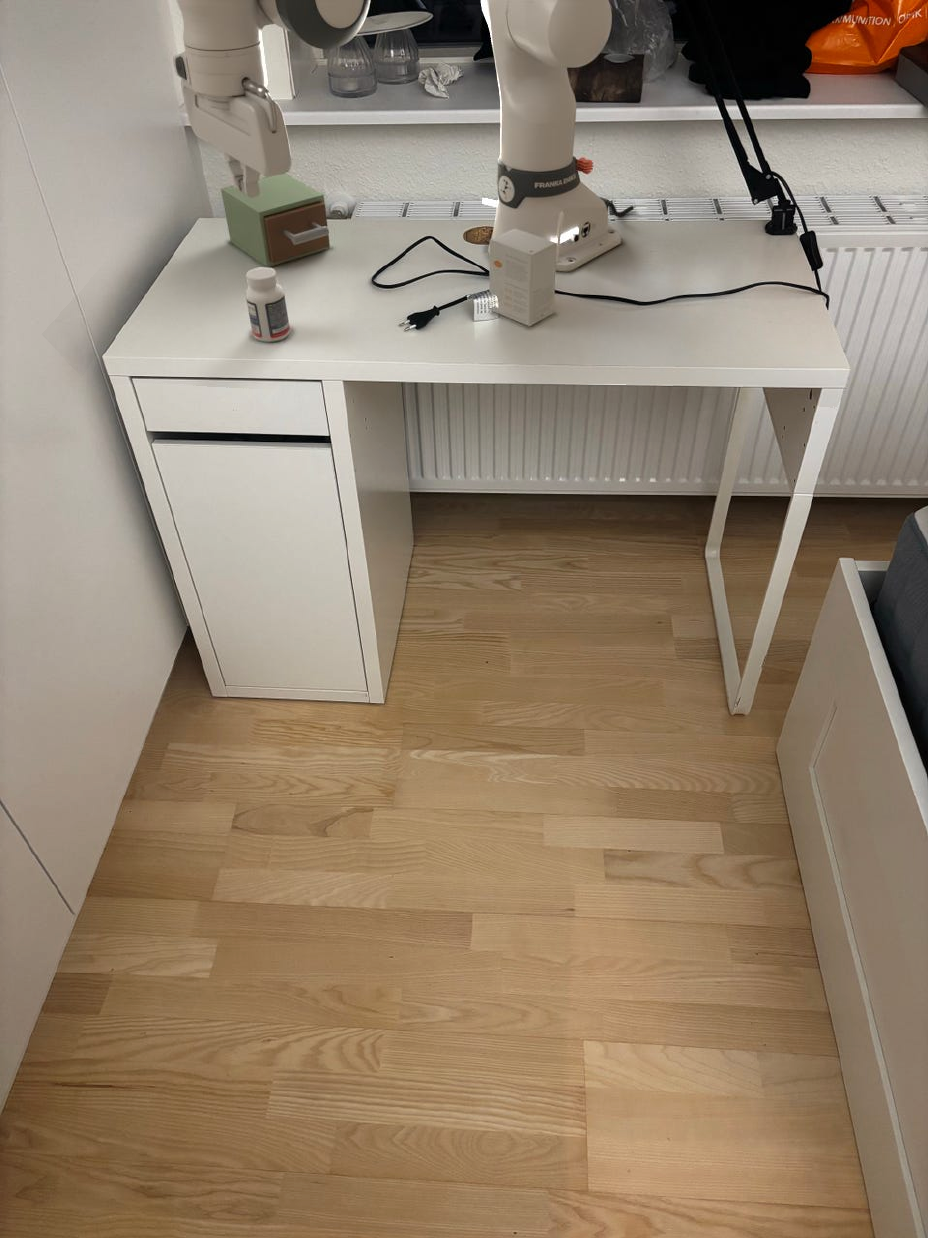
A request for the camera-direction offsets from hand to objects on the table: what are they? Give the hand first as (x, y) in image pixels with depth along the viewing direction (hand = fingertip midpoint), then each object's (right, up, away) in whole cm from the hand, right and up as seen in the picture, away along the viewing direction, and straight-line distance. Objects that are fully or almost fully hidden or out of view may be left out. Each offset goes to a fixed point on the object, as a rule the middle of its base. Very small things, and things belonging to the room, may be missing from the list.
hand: (247, 192), depth 117 cm
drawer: (-1, +6, +32) cm, 33 cm away
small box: (+36, -9, +18) cm, 41 cm away
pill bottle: (0, -14, +14) cm, 20 cm away
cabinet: (-3, +8, +35) cm, 36 cm away
